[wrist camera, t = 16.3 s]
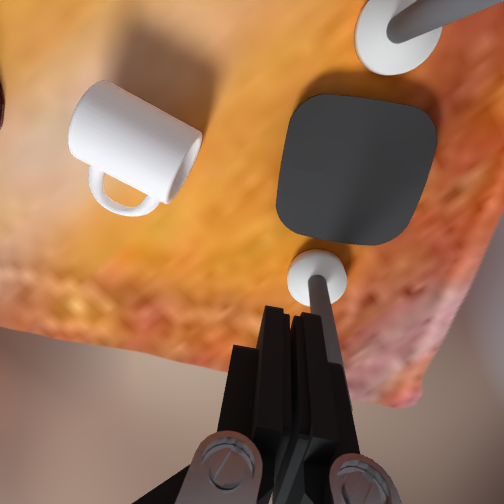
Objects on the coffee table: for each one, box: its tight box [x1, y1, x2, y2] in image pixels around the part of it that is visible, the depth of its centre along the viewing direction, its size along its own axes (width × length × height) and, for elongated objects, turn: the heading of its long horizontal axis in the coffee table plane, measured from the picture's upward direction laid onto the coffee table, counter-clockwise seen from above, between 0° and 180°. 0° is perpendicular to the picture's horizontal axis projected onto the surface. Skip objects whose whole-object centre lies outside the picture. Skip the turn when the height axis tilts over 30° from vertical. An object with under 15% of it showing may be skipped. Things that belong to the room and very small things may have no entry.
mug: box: [68, 80, 202, 216], centre depth 35 cm, size 12×10×8 cm
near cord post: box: [354, 0, 504, 75], centre depth 22 cm, size 7×7×20 cm
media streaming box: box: [276, 94, 437, 245], centre depth 36 cm, size 15×15×3 cm
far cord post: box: [288, 249, 352, 410], centre depth 34 cm, size 7×7×20 cm
